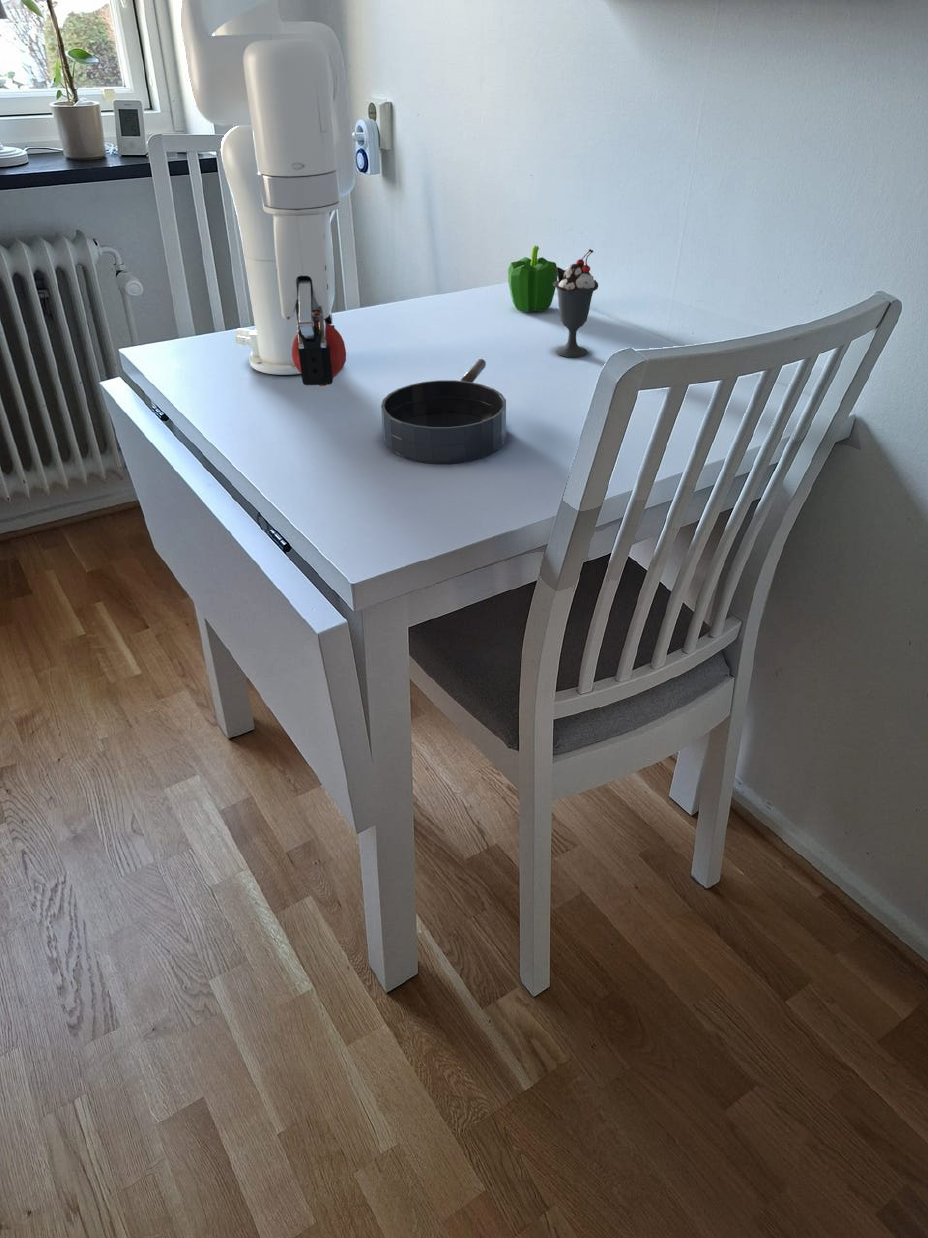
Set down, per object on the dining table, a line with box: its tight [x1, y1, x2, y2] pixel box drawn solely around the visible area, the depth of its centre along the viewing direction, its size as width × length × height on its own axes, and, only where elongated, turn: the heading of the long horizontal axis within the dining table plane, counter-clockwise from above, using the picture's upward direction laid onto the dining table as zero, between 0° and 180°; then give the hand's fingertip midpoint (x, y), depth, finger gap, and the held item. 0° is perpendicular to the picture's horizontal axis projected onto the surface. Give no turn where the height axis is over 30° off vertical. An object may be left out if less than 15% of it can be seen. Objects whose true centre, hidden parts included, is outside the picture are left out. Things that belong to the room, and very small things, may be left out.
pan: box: [380, 379, 507, 465], centre depth 107 cm, size 15×15×4 cm
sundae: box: [553, 248, 599, 358], centre depth 129 cm, size 7×7×15 cm
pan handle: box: [459, 358, 487, 383], centre depth 115 cm, size 9×1×1 cm, turn 163°
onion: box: [292, 311, 347, 387], centre depth 93 cm, size 6×6×8 cm
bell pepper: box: [507, 245, 558, 313], centre depth 148 cm, size 8×8×10 cm
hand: (320, 371), depth 95 cm, fingers closed on onion, 6 cm apart
